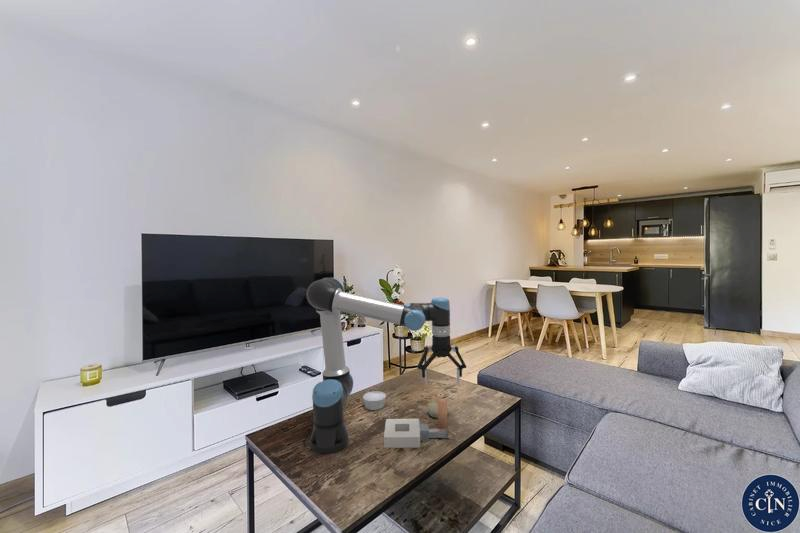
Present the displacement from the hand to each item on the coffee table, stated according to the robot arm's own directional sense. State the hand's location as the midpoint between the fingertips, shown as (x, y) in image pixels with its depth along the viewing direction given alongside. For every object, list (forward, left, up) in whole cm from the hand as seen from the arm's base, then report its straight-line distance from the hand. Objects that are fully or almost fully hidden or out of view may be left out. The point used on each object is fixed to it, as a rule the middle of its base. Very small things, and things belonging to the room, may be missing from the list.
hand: (442, 384), depth 144 cm
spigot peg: (0, 0, -19) cm, 19 cm away
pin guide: (-8, -7, -19) cm, 22 cm away
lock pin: (-4, -7, -19) cm, 20 cm away
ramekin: (-31, +21, -19) cm, 42 cm away
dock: (-17, -7, -19) cm, 26 cm away
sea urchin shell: (-1, +12, -19) cm, 22 cm away
